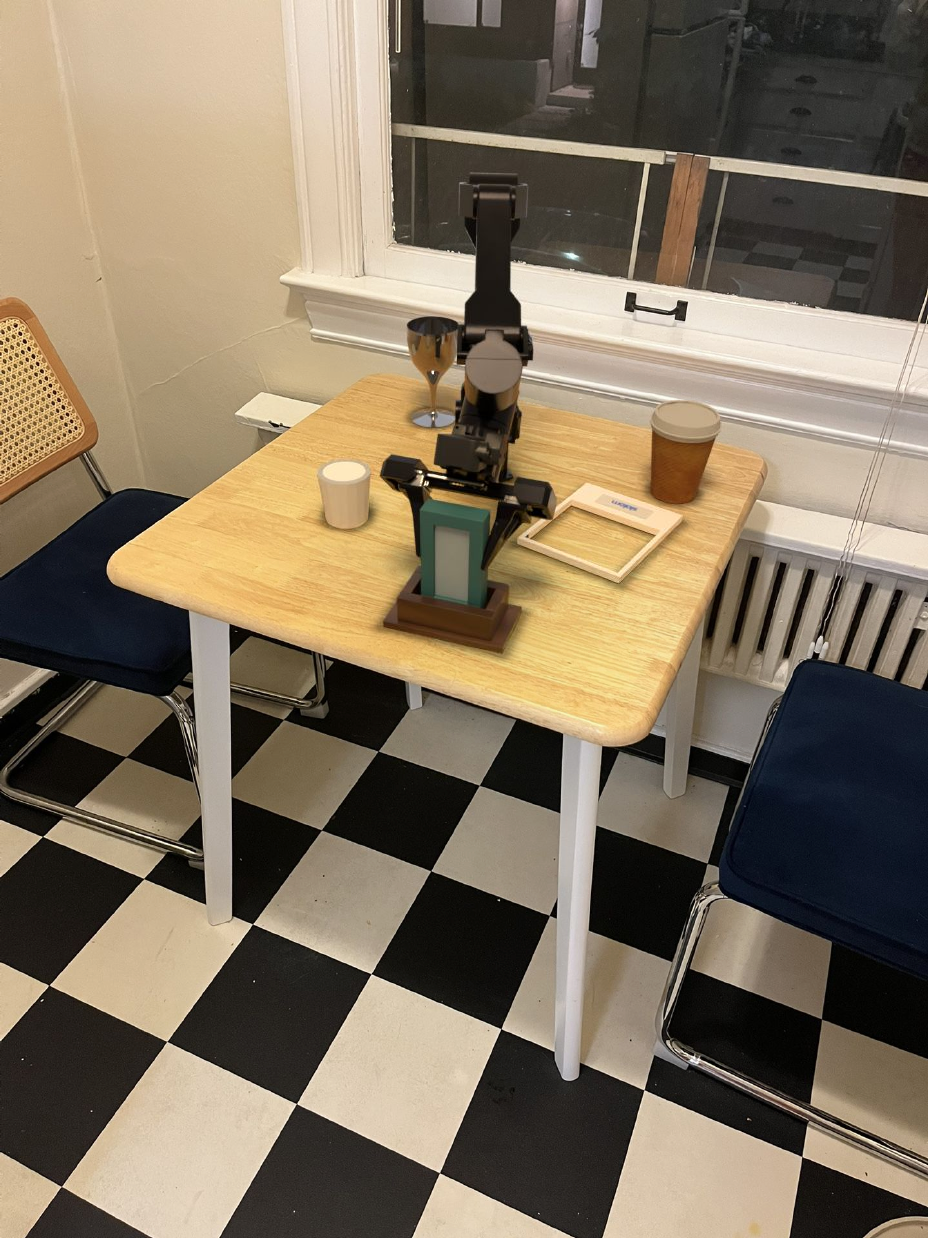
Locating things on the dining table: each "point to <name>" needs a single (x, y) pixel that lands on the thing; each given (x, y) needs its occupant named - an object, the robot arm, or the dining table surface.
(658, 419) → the disposable coffee cup
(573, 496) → the photo frame
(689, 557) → the dining table surface
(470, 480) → the robot arm
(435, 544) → the picture frame
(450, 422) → the wine glass
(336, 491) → the beige cup
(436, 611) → the frame holder
